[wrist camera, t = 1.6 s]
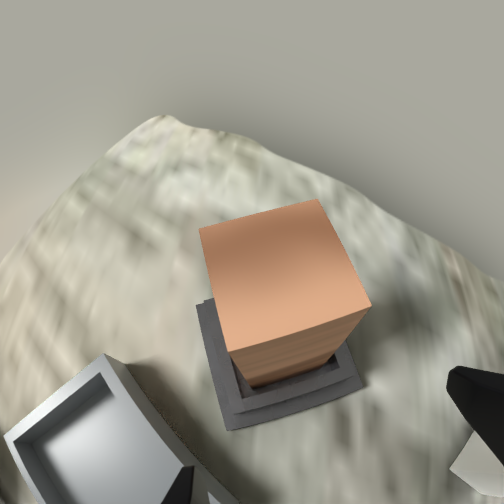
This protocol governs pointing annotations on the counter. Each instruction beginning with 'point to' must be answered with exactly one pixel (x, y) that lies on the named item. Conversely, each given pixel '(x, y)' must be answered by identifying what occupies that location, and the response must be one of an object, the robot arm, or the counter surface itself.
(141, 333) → the counter surface
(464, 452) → the milk
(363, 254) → the counter surface
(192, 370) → the counter surface
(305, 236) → the block
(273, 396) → the grey square base plate
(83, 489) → the tray
